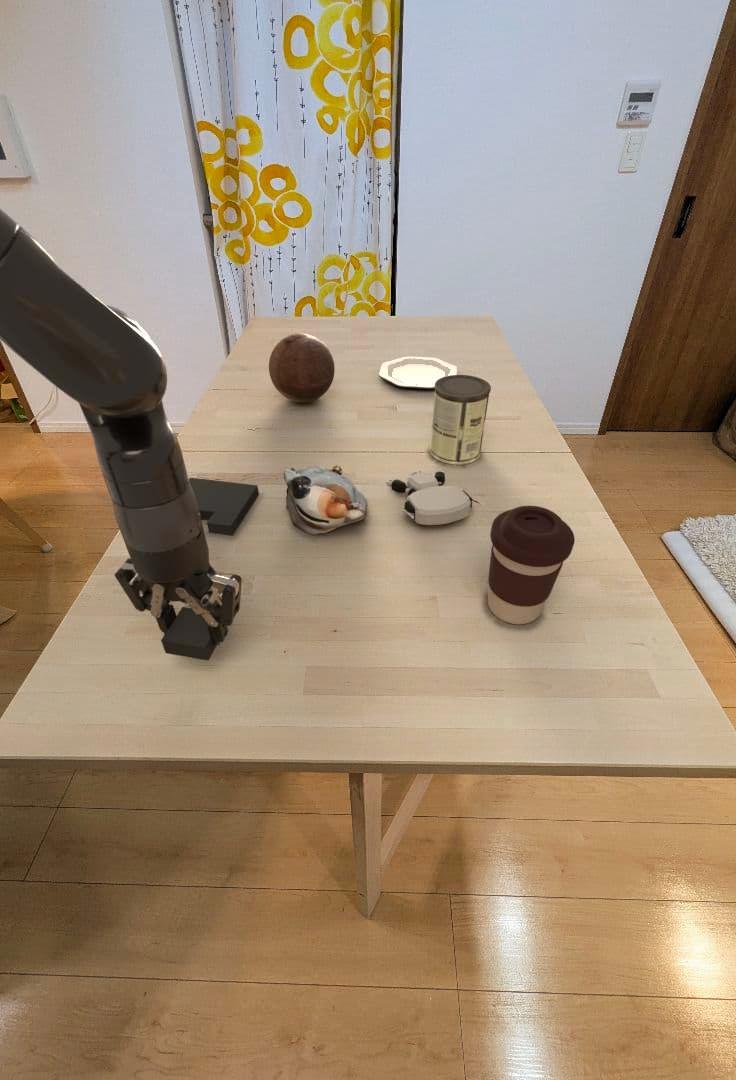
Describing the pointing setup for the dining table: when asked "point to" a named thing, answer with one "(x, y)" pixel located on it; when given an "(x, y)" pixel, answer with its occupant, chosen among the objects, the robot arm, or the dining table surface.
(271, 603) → the dining table surface
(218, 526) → the base pad
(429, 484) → the robot toy
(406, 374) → the plate
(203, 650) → the black pad
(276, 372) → the wooden sphere
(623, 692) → the dining table surface
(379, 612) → the dining table surface
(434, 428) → the coffee can
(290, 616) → the dining table surface
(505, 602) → the coffee cup
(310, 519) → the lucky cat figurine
